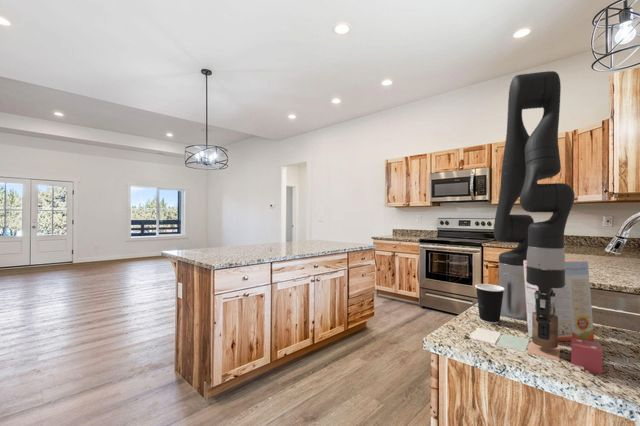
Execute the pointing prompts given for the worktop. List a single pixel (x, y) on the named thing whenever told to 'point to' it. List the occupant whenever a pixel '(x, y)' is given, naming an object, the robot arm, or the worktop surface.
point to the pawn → (553, 331)
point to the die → (587, 355)
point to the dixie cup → (489, 302)
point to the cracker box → (568, 302)
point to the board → (515, 343)
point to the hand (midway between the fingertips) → (544, 334)
